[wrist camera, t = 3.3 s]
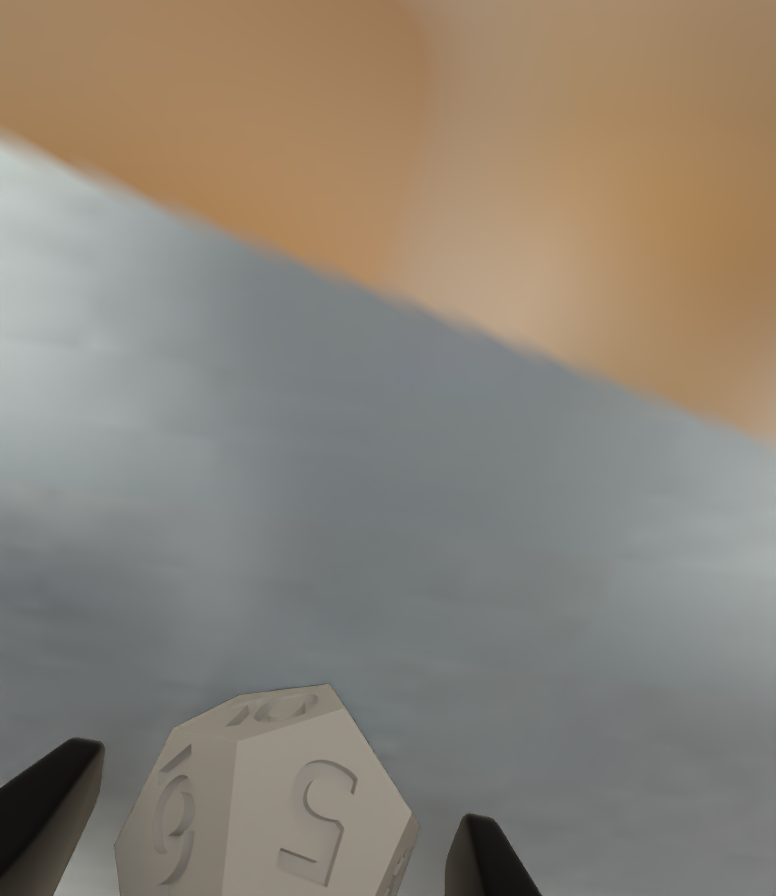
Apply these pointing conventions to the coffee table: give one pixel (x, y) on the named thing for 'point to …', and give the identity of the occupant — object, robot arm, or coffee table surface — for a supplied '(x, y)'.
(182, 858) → the game die
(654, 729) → the coffee table surface
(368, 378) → the coffee table surface
